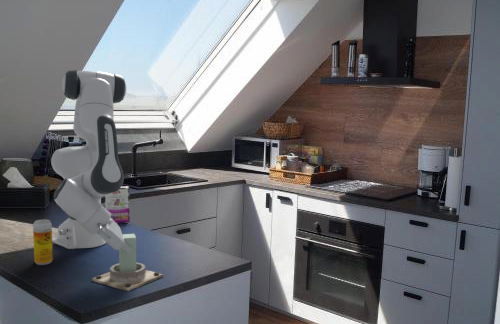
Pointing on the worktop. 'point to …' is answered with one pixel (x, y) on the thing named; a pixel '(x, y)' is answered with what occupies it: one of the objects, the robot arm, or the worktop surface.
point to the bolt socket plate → (122, 285)
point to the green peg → (128, 254)
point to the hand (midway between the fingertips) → (129, 248)
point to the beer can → (42, 242)
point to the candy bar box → (119, 205)
